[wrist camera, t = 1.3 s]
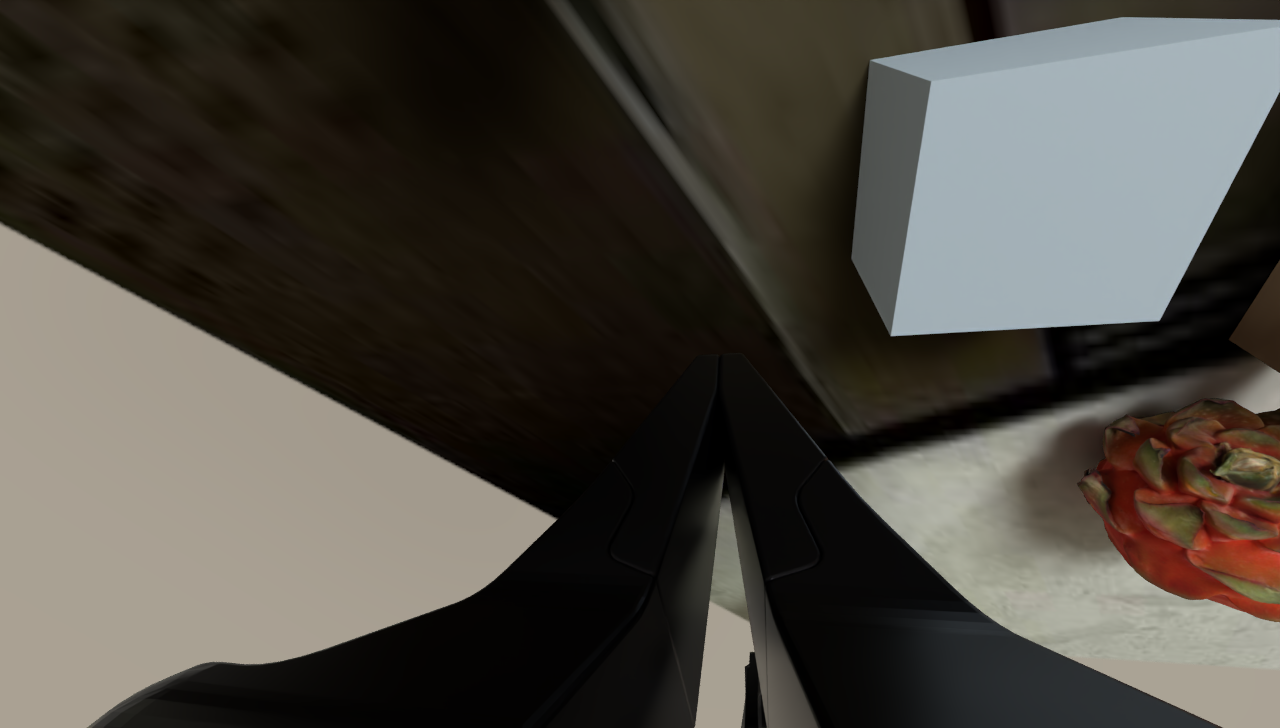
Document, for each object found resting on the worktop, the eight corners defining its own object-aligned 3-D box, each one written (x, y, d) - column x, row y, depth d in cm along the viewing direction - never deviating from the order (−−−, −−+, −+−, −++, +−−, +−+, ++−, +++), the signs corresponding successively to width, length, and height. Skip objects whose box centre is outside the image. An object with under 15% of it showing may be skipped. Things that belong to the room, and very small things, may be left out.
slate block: (1045, 239, 18) (1159, 320, 14) (850, 257, 20) (890, 335, 15) (1120, 17, 14) (1317, 20, 10) (868, 60, 16) (931, 81, 11)
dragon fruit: (1077, 341, 22) (1187, 439, 26) (991, 505, 22) (1115, 576, 26) (1414, 376, 14) (1493, 508, 18) (1280, 632, 14) (1390, 705, 18)
